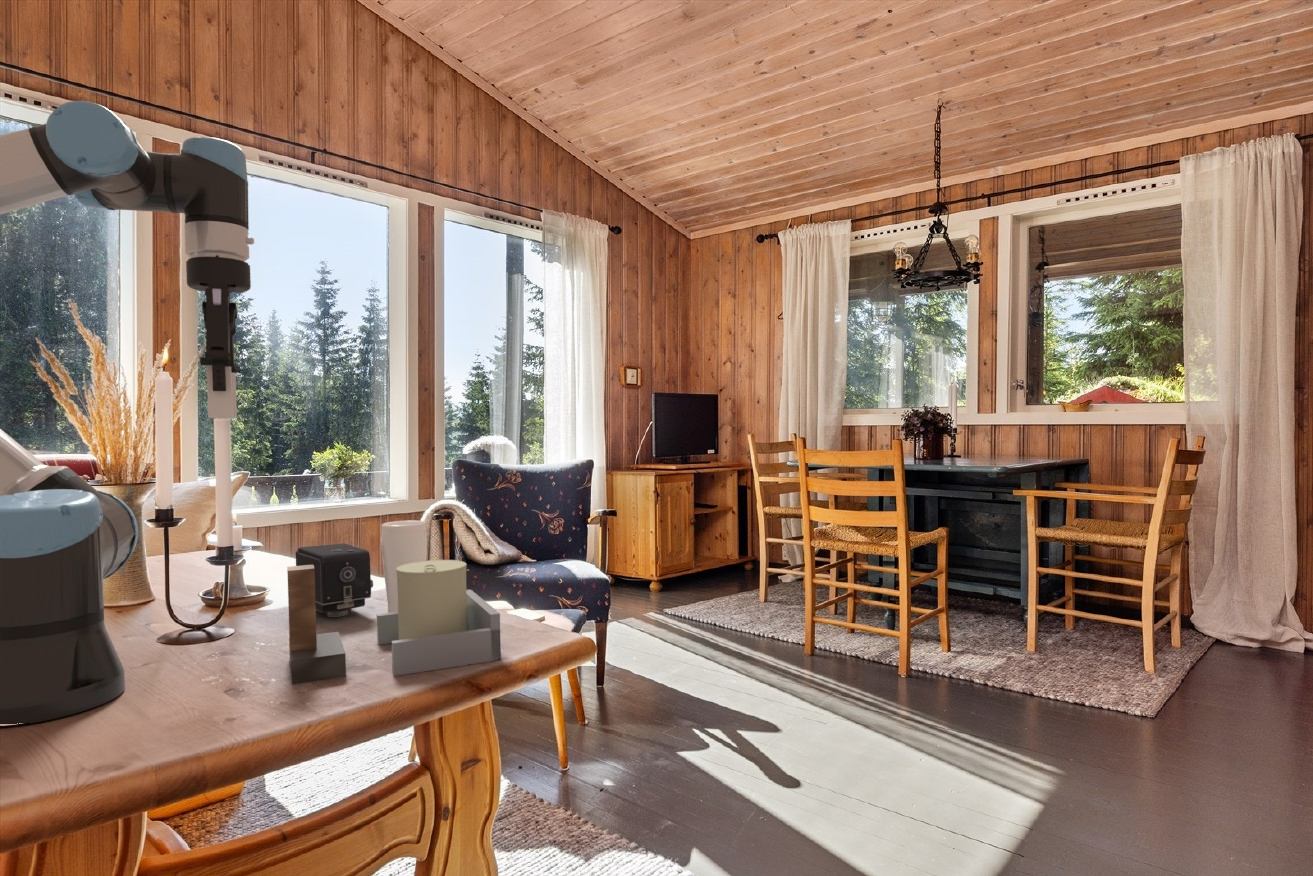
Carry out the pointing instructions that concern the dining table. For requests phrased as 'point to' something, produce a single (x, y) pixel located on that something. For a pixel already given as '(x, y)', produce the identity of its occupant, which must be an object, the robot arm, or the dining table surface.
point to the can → (431, 598)
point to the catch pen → (444, 641)
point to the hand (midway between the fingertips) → (223, 418)
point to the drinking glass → (400, 552)
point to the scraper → (310, 633)
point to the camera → (338, 576)
